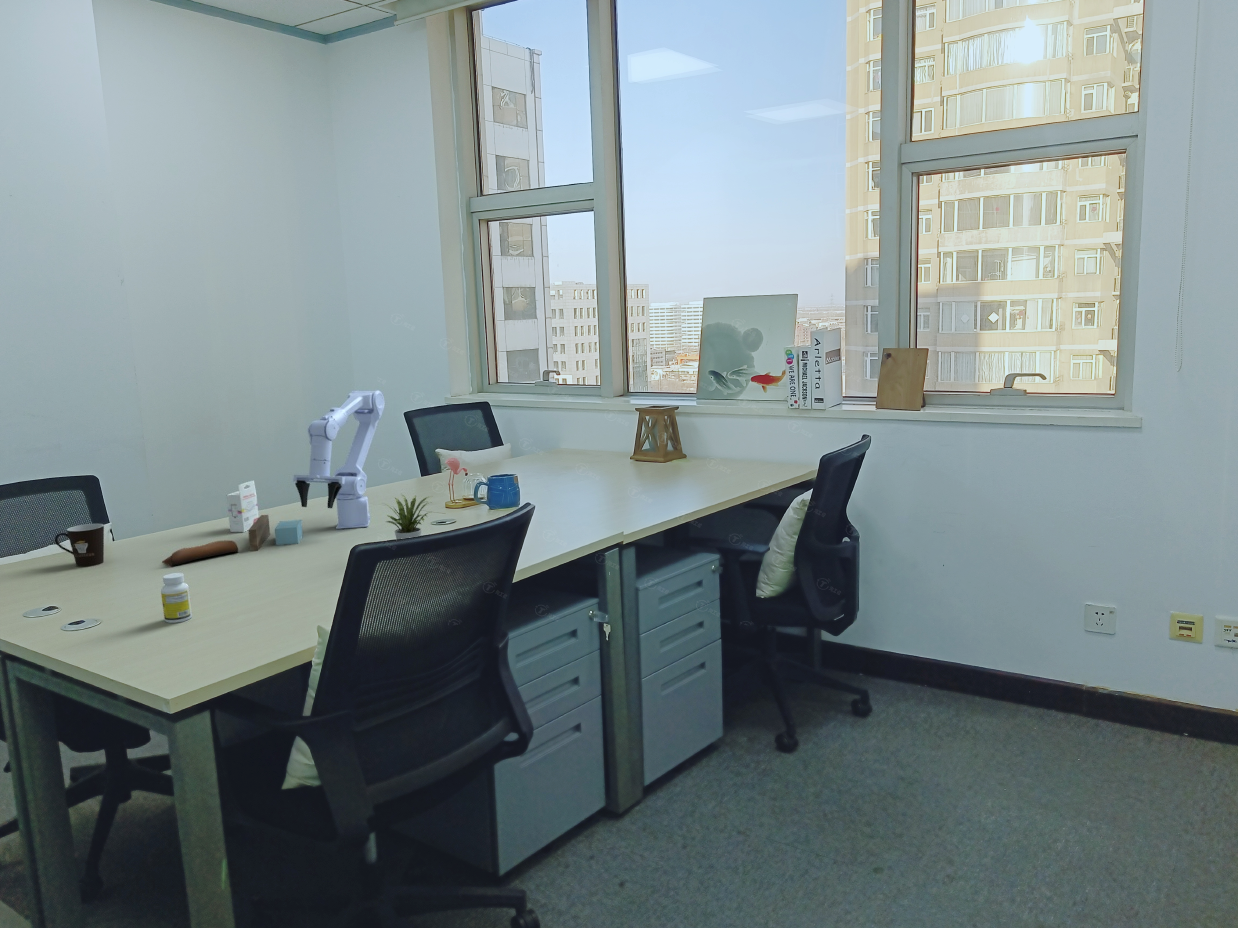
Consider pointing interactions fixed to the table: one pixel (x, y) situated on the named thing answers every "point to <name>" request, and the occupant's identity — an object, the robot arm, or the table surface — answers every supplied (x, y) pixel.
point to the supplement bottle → (176, 598)
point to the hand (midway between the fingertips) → (317, 507)
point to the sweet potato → (201, 552)
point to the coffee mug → (86, 544)
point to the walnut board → (259, 532)
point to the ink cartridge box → (242, 507)
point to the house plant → (407, 519)
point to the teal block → (288, 532)
